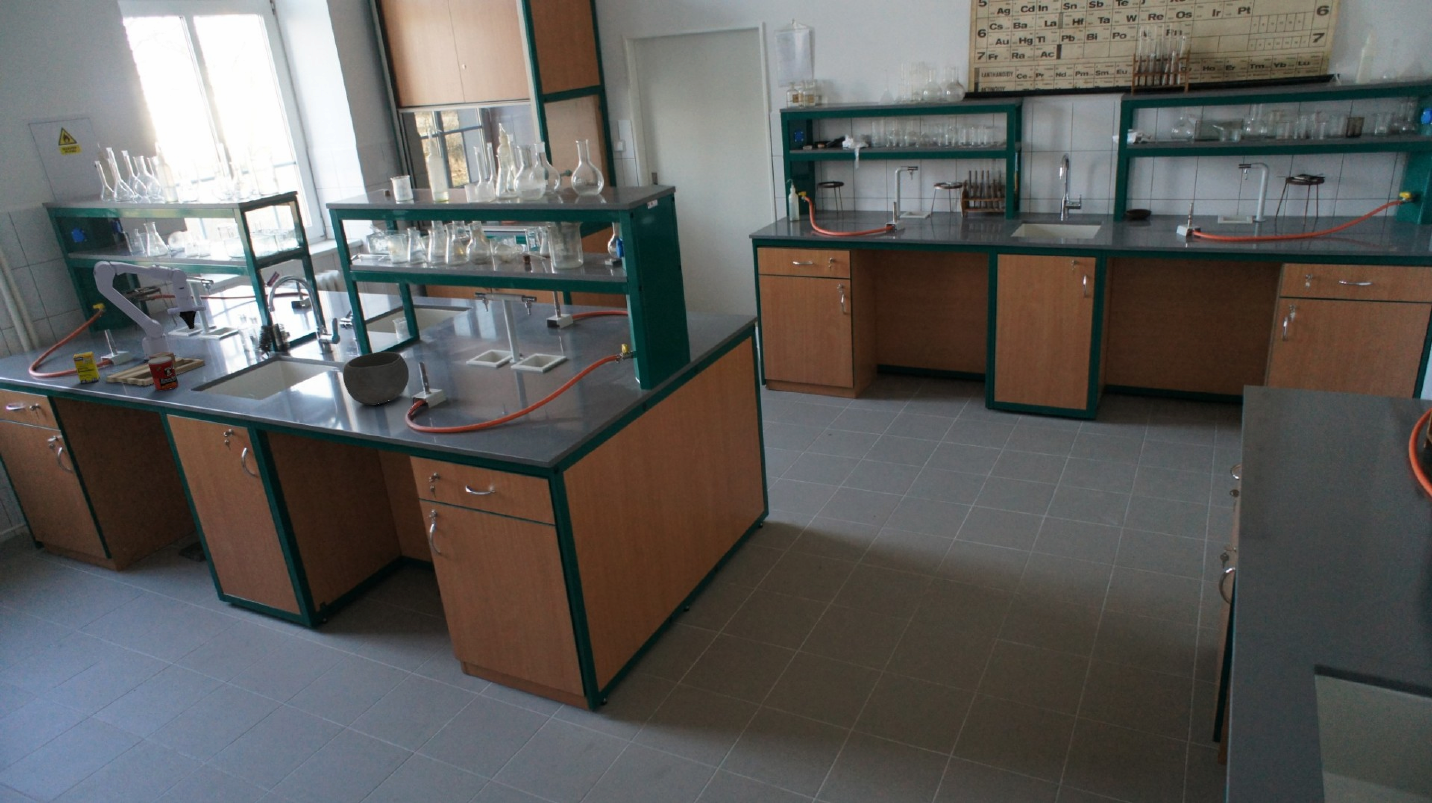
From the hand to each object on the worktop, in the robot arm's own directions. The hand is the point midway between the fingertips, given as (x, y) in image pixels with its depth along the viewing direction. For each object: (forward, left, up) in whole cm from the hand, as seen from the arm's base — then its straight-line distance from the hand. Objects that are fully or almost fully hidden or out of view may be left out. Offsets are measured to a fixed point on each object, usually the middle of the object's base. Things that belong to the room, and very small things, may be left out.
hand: (192, 328), depth 391 cm
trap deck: (+11, -28, -10) cm, 31 cm away
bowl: (+127, -32, -10) cm, 131 cm away
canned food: (+32, -40, -10) cm, 52 cm away
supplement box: (-8, -42, -10) cm, 44 cm away
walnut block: (+16, -28, -8) cm, 33 cm away
